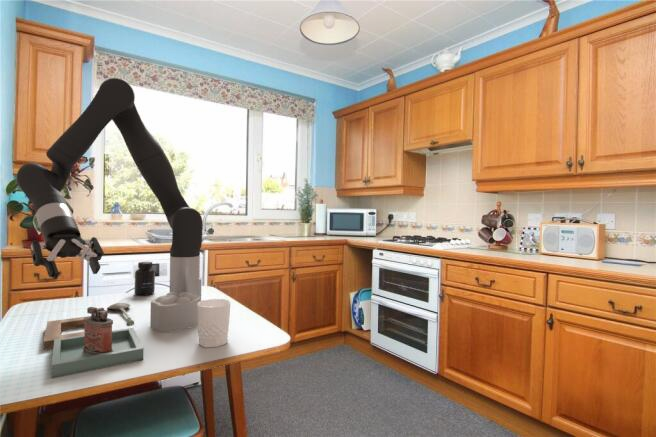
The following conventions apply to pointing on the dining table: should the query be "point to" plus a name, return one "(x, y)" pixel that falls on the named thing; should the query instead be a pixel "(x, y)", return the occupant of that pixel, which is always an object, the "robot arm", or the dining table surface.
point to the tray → (76, 360)
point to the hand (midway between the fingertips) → (77, 274)
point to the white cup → (213, 322)
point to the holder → (56, 326)
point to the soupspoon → (121, 307)
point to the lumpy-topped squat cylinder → (174, 312)
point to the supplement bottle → (144, 279)
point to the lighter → (97, 332)
